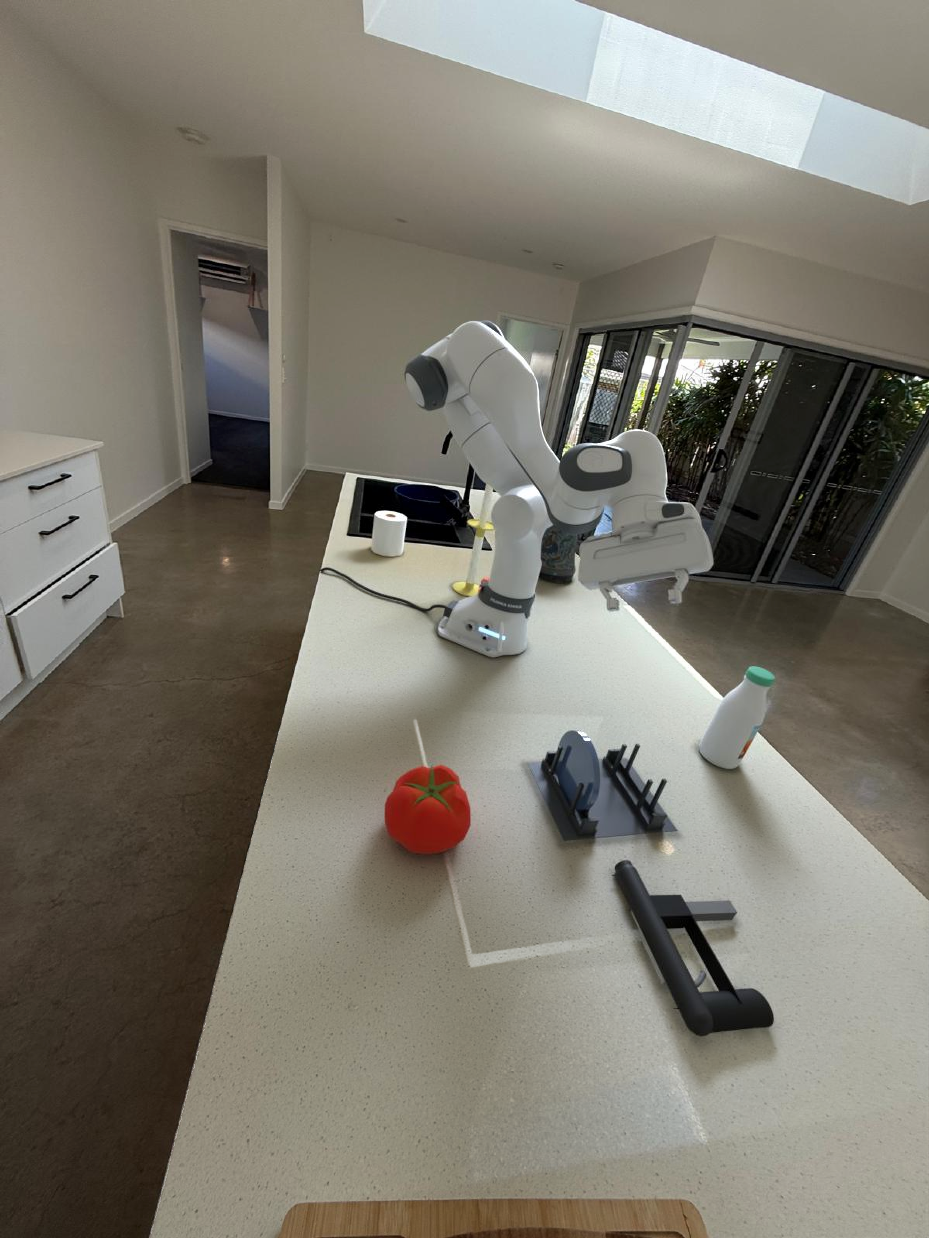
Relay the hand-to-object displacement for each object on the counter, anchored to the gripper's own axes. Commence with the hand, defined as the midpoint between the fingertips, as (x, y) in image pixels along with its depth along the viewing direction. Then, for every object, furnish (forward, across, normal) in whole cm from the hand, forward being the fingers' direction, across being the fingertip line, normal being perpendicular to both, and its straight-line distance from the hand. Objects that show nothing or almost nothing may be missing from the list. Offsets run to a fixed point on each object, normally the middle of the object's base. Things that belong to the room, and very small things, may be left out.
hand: (643, 606), depth 78 cm
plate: (+29, -15, +5) cm, 33 cm away
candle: (-26, -63, +39) cm, 78 cm away
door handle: (+45, +4, +3) cm, 45 cm away
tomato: (+34, -27, -14) cm, 46 cm away
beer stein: (-42, -55, +71) cm, 99 cm away
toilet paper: (-42, -92, +31) cm, 106 cm away
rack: (+29, -12, +10) cm, 33 cm away
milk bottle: (+20, +2, +39) cm, 44 cm away
